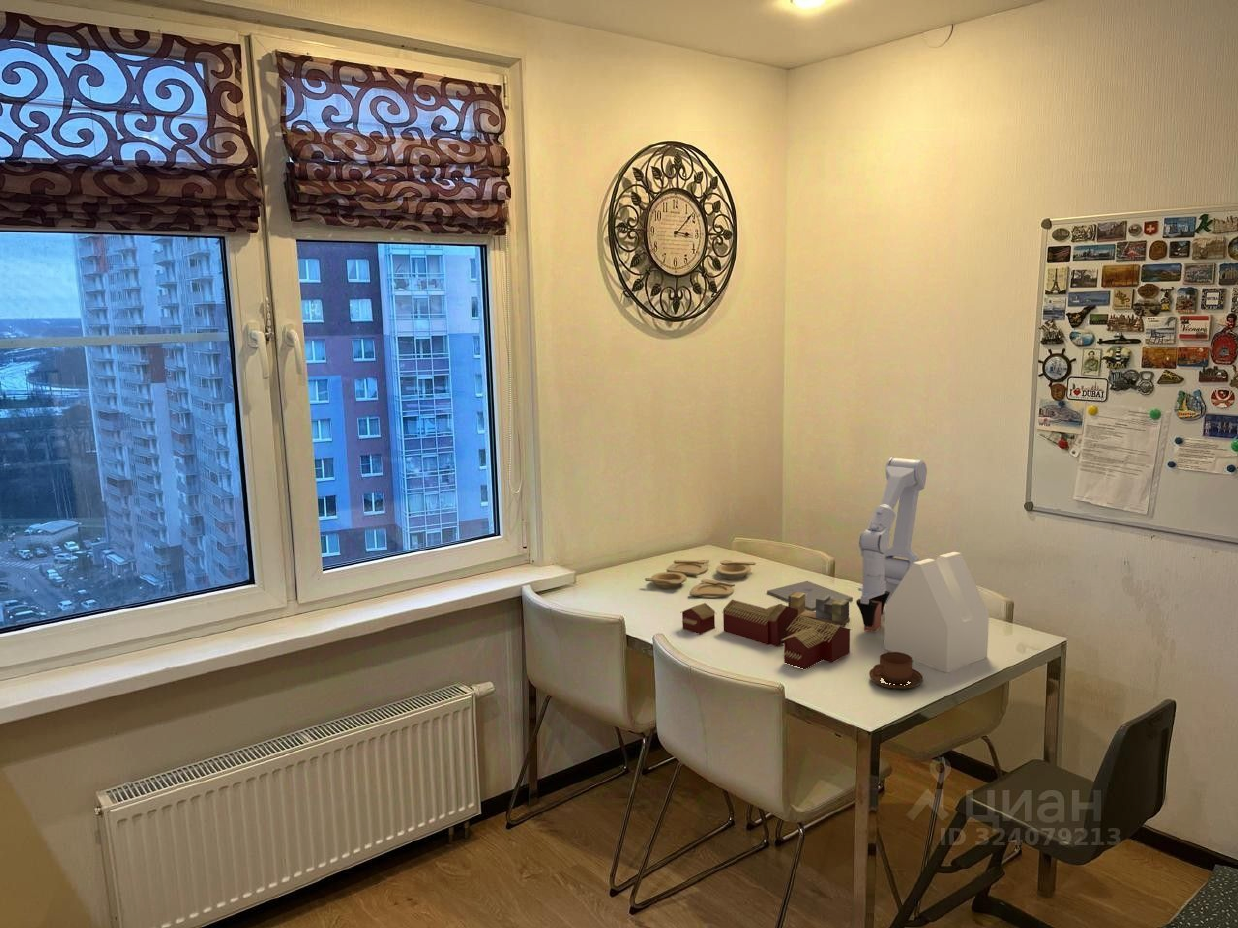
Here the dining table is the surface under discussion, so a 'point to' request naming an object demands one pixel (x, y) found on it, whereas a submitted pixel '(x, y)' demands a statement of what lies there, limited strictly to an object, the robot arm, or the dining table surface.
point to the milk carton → (938, 615)
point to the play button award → (807, 593)
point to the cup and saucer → (895, 671)
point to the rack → (822, 608)
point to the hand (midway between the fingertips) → (872, 621)
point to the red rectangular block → (875, 619)
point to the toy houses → (775, 630)
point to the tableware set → (702, 590)
